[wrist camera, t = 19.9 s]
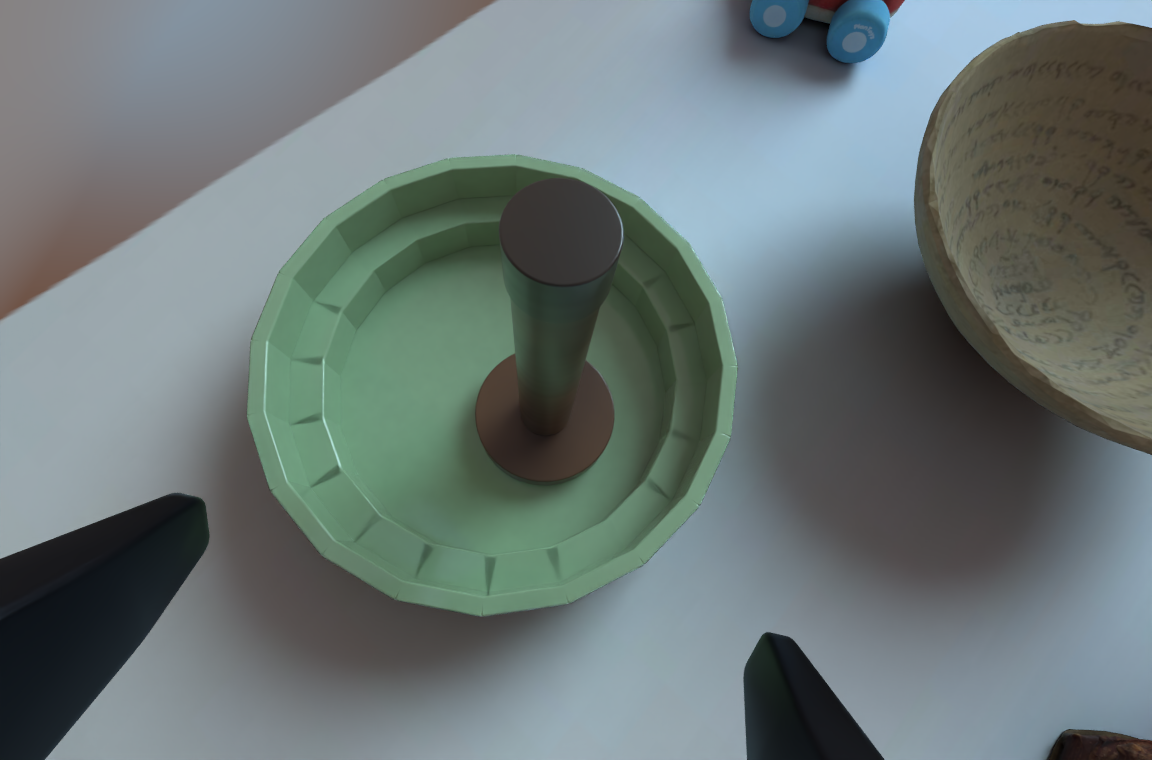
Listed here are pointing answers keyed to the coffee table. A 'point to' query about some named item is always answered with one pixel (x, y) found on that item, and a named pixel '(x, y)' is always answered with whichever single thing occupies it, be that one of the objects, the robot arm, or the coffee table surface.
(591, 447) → the paper towel holder
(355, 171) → the coffee table surface
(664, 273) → the green round dish
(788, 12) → the toy car
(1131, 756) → the pastry
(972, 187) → the bowl
